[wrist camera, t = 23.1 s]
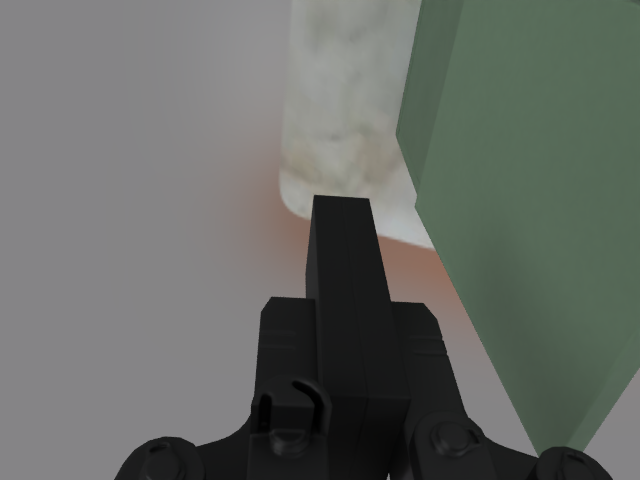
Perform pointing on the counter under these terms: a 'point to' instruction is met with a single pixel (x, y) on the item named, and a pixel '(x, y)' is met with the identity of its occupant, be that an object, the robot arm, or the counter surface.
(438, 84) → the chest
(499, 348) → the lid
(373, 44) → the counter surface
